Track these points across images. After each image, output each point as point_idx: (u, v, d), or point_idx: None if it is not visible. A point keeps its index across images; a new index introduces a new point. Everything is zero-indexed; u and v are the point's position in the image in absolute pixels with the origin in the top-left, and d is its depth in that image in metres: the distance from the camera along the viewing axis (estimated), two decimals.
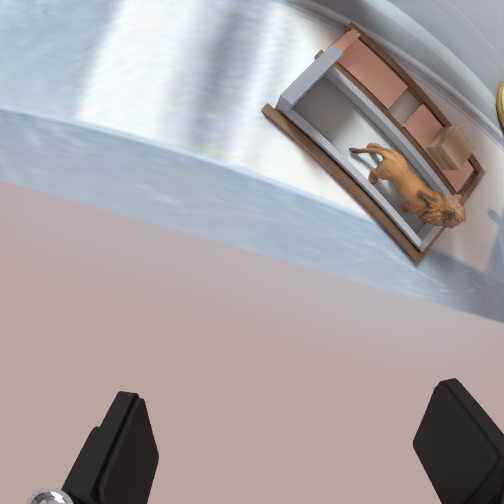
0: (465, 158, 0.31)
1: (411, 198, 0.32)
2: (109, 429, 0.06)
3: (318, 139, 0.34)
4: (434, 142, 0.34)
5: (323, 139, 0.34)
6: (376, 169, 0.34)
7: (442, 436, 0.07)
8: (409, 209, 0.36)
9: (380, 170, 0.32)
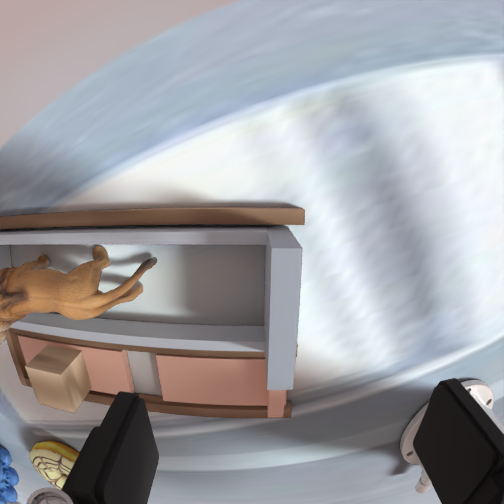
0: (34, 385, 0.20)
1: (27, 279, 0.17)
2: (109, 429, 0.06)
3: (193, 234, 0.20)
4: (77, 367, 0.22)
5: (187, 240, 0.20)
6: (98, 268, 0.20)
7: (442, 436, 0.07)
8: (31, 263, 0.20)
9: (88, 272, 0.18)
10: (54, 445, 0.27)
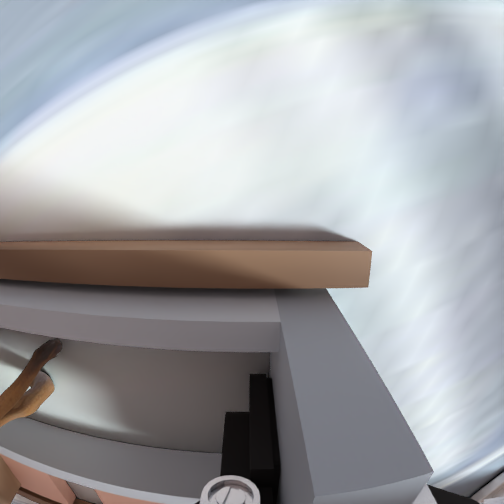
0: None
1: None
2: (260, 407, 0.08)
3: (89, 320, 0.07)
4: None
5: (79, 332, 0.07)
6: None
7: None
8: None
9: None
10: None
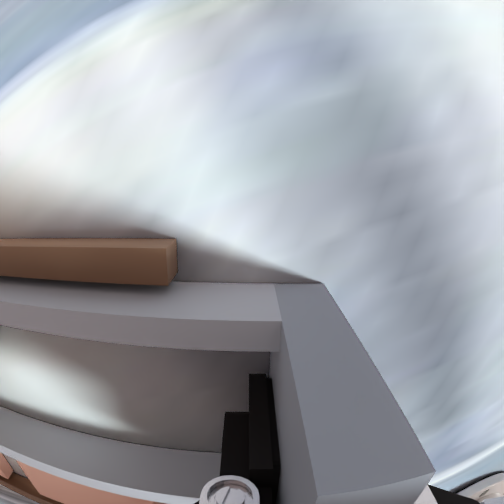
0: None
1: None
2: (260, 407, 0.08)
3: (89, 317, 0.07)
4: None
5: (79, 330, 0.07)
6: None
7: None
8: None
9: None
10: None
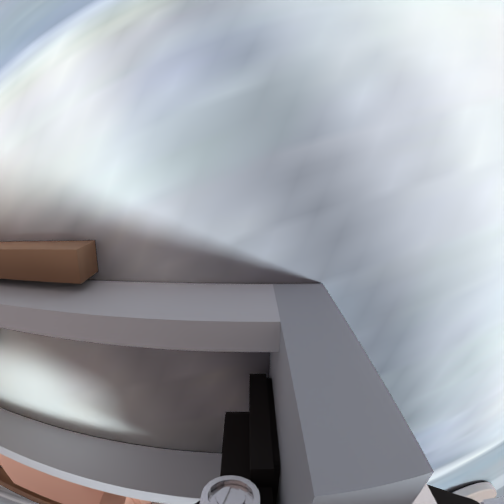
0: None
1: None
2: (260, 407, 0.08)
3: (89, 319, 0.07)
4: None
5: (78, 332, 0.07)
6: None
7: None
8: None
9: None
10: None
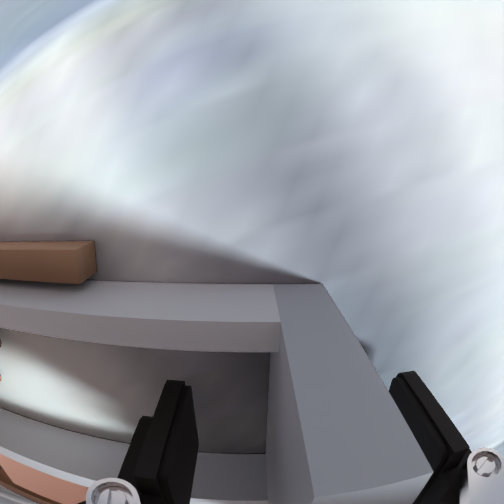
0: None
1: None
2: (164, 415, 0.07)
3: (89, 320, 0.07)
4: None
5: (78, 333, 0.07)
6: None
7: None
8: None
9: None
10: None
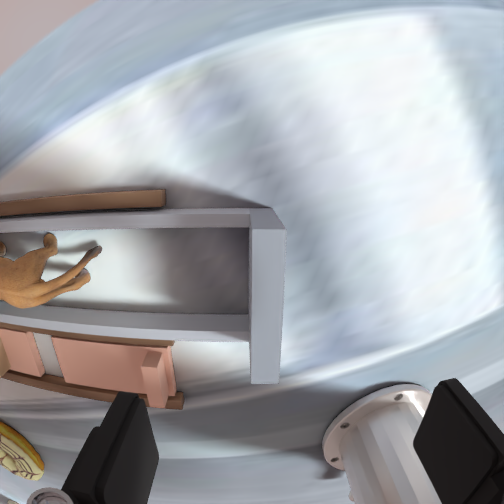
0: None
1: None
2: (109, 429, 0.06)
3: (171, 216, 0.18)
4: None
5: (164, 223, 0.18)
6: (43, 256, 0.18)
7: (442, 436, 0.07)
8: None
9: (31, 260, 0.17)
10: None
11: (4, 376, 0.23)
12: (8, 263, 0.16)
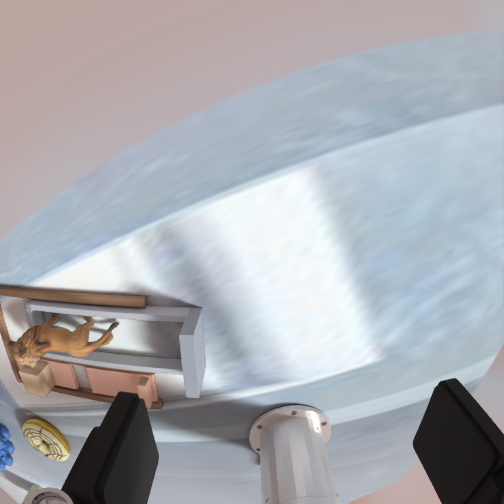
0: (23, 381, 0.36)
1: (49, 335, 0.33)
2: (109, 429, 0.06)
3: (148, 315, 0.35)
4: (46, 372, 0.38)
5: (145, 318, 0.36)
6: (87, 328, 0.35)
7: (442, 436, 0.07)
8: (49, 322, 0.36)
9: (82, 333, 0.34)
10: (37, 421, 0.42)
11: None
12: (67, 333, 0.34)
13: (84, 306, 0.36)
